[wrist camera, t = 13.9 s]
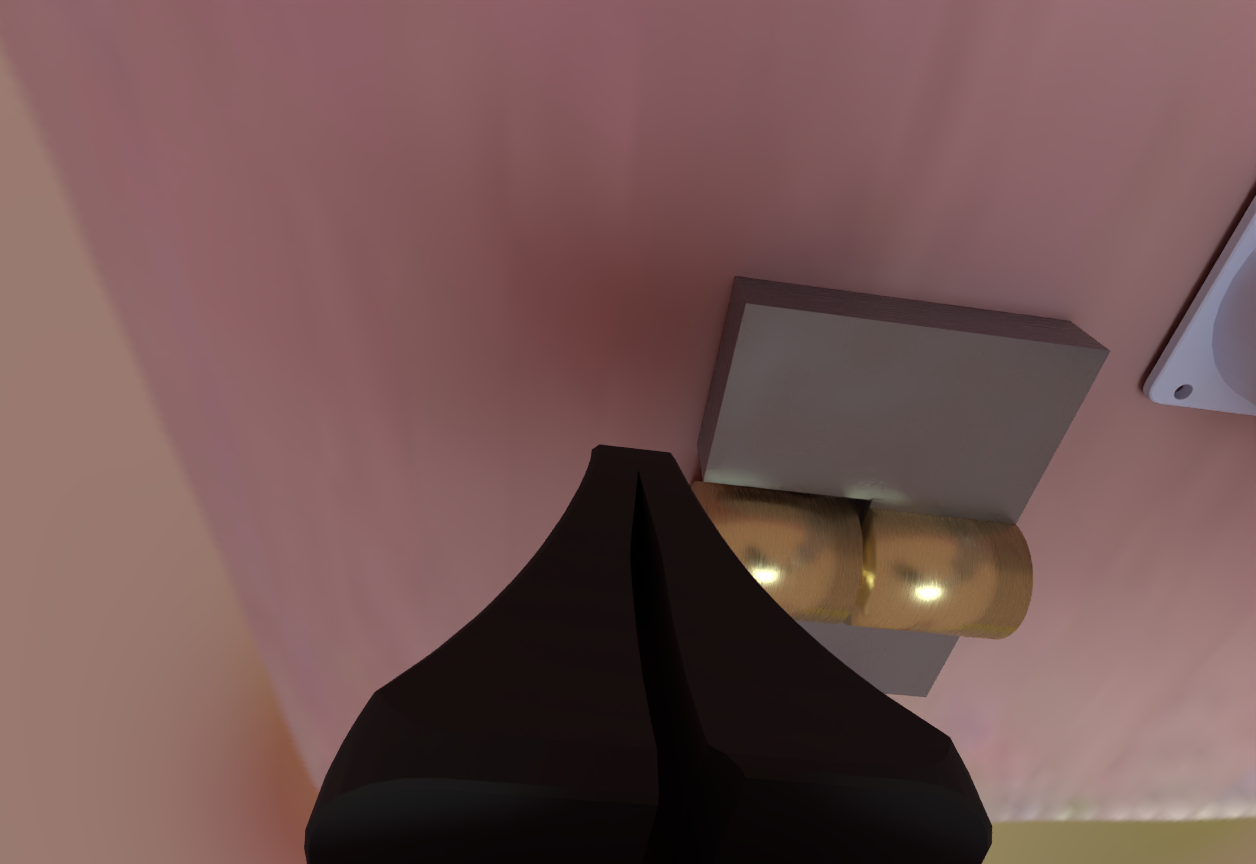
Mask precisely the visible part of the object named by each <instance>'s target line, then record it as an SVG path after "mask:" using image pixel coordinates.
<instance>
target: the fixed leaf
mask: <svg viewBox="0 0 1256 864" xmlns="http://www.w3.org/2000/svg"><path fill="white" fill-rule="evenodd" d="M1109 352H1110V350H1108V349H1107V348H1106V347H1104V346H1103V345H1102V344H1100V343H1099V342H1098V341H1096V340H1095V339H1094V338H1092V337H1091V336H1090V335H1088V334H1087V333H1086V332H1084V331H1083V330H1081V329H1080V328H1079V327H1077V326H1076V325H1075V324H1073V323H1072V322H1071V321H1064V320H1057V319H1049V318H1042V317H1034V316H1027V315H1019V314H1012V313H1004V312H997V311H989V310H982V309H974V308H967V307H959V306H952V305H944V304H937V303H930V302H922V301H915V300H907V299H900V298H892V297H885V296H877V295H870V294H862V293H855V292H847V291H840V290H832V289H825V288H817V287H810V286H802V285H795V284H787V283H780V282H772V281H765V280H757V279H750V278H742V277H735V281H734V285H733V290H732V294H731V299H730V303H729V307H728V312H727V316H726V321H725V325H724V329H723V334H722V338H721V343H720V347H719V351H718V356H717V360H716V365H715V369H714V373H713V378H712V382H711V387H710V391H709V395H708V400H707V404H706V409H705V413H704V417H703V422H702V426H701V431H700V435H699V439H698V444H697V447H698V453H699V459H700V465H701V471H702V478H703V482H711V483H720V484H730V485H739V486H748V487H757V488H766V489H775V490H784V491H793V492H802V493H811V494H820V495H829V496H839V497H845V498H847V499H848V500H849V501H850V502H851V503H852V504H853V506H854V508H855V510H856V512H857V515H858V518H859V521H860V526H861V531H862V539H863V568H862V577H861V583H860V588H859V592H858V596H857V599H856V602H855V604H854V607H853V609H852V611H851V613H850V614H849V616H848V617H847V618H846V619H845V620H844V621H843V623H845V624H846V625H850V626H859V627H870V628H880V629H891V630H901V631H912V632H922V633H933V634H943V635H954V636H964V637H975V638H985V639H1003V638H1005V637H1007V636H1009V635H1011V634H1012V633H1013V632H1014V631H1015V630H1016V629H1017V628H1018V627H1019V626H1020V624H1021V623H1022V621H1023V619H1024V617H1025V615H1026V613H1027V610H1028V607H1029V604H1030V600H1031V595H1032V587H1033V569H1032V561H1031V555H1030V552H1029V548H1028V545H1027V542H1026V540H1025V538H1024V536H1023V534H1022V532H1021V531H1020V529H1019V528H1018V527H1017V525H1016V523H1017V521H1018V519H1019V517H1020V515H1021V513H1022V512H1023V510H1024V508H1025V506H1026V504H1027V502H1028V501H1029V499H1030V497H1031V495H1032V493H1033V491H1034V490H1035V488H1036V486H1037V484H1038V482H1039V481H1040V479H1041V477H1042V475H1043V473H1044V471H1045V470H1046V468H1047V466H1048V464H1049V462H1050V460H1051V459H1052V457H1053V455H1054V453H1055V451H1056V449H1057V448H1058V446H1059V444H1060V442H1061V440H1062V438H1063V437H1064V435H1065V433H1066V431H1067V429H1068V427H1069V426H1070V424H1071V422H1072V420H1073V418H1074V416H1075V415H1076V413H1077V411H1078V409H1079V407H1080V405H1081V404H1082V402H1083V400H1084V398H1085V396H1086V394H1087V393H1088V391H1089V389H1090V387H1091V385H1092V383H1093V382H1094V380H1095V378H1096V376H1097V374H1098V373H1099V371H1100V369H1101V367H1102V365H1103V363H1104V362H1105V360H1106V358H1107V356H1108V354H1109Z"/></svg>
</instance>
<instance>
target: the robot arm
mask: <svg viewBox="0 0 1256 864" xmlns="http://www.w3.org/2000/svg"><path fill="white" fill-rule="evenodd" d="M1182 385H1183V387H1182V388H1181V389H1180V390H1179V391H1177V392H1176V393H1175V391H1176V389H1177V388H1178V387H1180V386H1182ZM1143 393H1144V394H1145V396H1146V397H1147V398H1149V399H1150V400H1151V401H1152V402H1155V403H1158V404H1165V405H1173V406H1181V407H1189V408H1197V409H1205V410H1213V411H1221V412H1229V413H1237V414H1245V415H1253V416H1256V195H1255V197H1254V199H1253V201H1252V202H1251V204H1250V206H1249V207H1248V209H1247V211H1246V212H1245V214H1244V216H1243V218H1242V219H1241V221H1240V223H1239V224H1238V226H1237V228H1236V229H1235V231H1234V233H1233V234H1232V236H1231V238H1230V240H1229V241H1228V243H1227V245H1226V246H1225V248H1224V250H1223V251H1222V253H1221V255H1220V257H1219V258H1218V260H1217V262H1216V263H1215V265H1214V267H1213V268H1212V270H1211V272H1210V273H1209V275H1208V277H1207V279H1206V280H1205V282H1204V284H1203V285H1202V287H1201V289H1200V290H1199V292H1198V294H1197V295H1196V297H1195V299H1194V301H1193V302H1192V304H1191V306H1190V307H1189V309H1188V311H1187V312H1186V314H1185V316H1184V318H1183V319H1182V321H1181V323H1180V324H1179V326H1178V328H1177V329H1176V331H1175V333H1174V334H1173V336H1172V338H1171V340H1170V341H1169V343H1168V345H1167V346H1166V348H1165V350H1164V351H1163V353H1162V355H1161V357H1160V358H1159V360H1158V362H1157V363H1156V365H1155V367H1154V368H1153V370H1152V372H1151V373H1150V375H1149V377H1148V379H1147V380H1146V382H1145V384H1144V387H1143ZM991 844H992V825H991V822H990V820H989V818H988V816H987V813H986V811H985V809H984V807H983V804H982V802H981V800H980V797H979V795H978V792H977V790H976V788H975V785H974V783H973V781H972V779H971V777H970V774H969V772H968V770H967V768H966V766H965V765H964V763H963V761H962V759H961V757H960V755H959V753H958V752H957V750H956V748H955V746H954V744H953V742H952V740H951V738H950V737H949V736H947V735H946V734H944V733H943V732H941V731H940V730H938V729H937V728H935V727H934V726H932V725H931V724H929V723H928V722H926V721H925V720H923V719H921V718H920V717H918V716H917V715H915V714H914V713H912V712H911V711H909V710H908V709H906V708H905V707H903V706H902V705H900V704H899V703H897V702H896V701H894V700H893V699H891V698H890V697H888V696H887V695H885V694H884V693H882V692H881V691H880V690H878V689H877V688H876V687H874V686H873V685H872V684H870V683H869V682H868V681H866V680H865V679H864V678H862V677H861V676H860V675H858V674H857V673H856V672H855V671H853V670H852V669H851V668H849V667H848V666H847V665H845V664H844V663H843V662H842V661H841V660H839V659H838V658H837V657H836V656H834V655H833V654H832V653H831V652H830V651H828V650H827V649H826V648H825V647H824V646H822V645H821V644H820V643H819V642H818V641H817V640H816V639H815V638H814V637H812V636H811V635H810V634H809V633H808V632H807V631H806V630H805V629H804V628H802V627H801V626H800V625H799V624H798V623H797V622H796V621H795V620H794V619H793V618H792V617H791V616H790V615H789V614H788V613H787V612H786V611H785V610H784V609H782V607H781V606H780V605H779V604H778V603H777V602H776V601H775V600H774V599H773V598H772V597H771V596H770V595H769V594H768V593H767V592H766V590H765V589H764V588H763V587H762V586H761V585H760V584H759V583H758V582H757V581H756V580H755V578H754V577H753V576H752V575H751V574H750V572H749V571H748V570H747V569H746V568H745V566H744V565H743V564H742V562H741V561H740V560H739V558H738V557H737V556H736V555H735V553H734V552H733V551H732V549H731V548H730V547H729V545H728V544H727V542H726V541H725V540H724V538H723V537H722V536H721V534H720V533H719V531H718V530H717V528H716V527H715V525H714V524H713V522H712V521H711V519H710V518H709V516H708V515H707V513H706V512H705V510H704V509H703V507H702V505H701V504H700V502H699V501H698V499H697V497H696V496H695V494H694V492H693V490H692V489H691V487H690V485H689V484H688V482H687V480H686V478H685V477H684V475H683V473H682V471H681V469H680V467H679V465H678V464H677V462H676V460H675V458H674V457H673V456H672V454H671V453H669V452H660V451H651V450H643V449H634V448H625V447H616V446H607V445H598V446H597V447H595V448H594V449H592V453H591V459H590V462H589V466H588V468H587V471H586V473H585V476H584V478H583V480H582V482H581V484H580V486H579V488H578V490H577V492H576V494H575V495H574V497H573V499H572V501H571V502H570V504H569V506H568V508H567V509H566V511H565V513H564V514H563V516H562V517H561V519H560V520H559V522H558V523H557V525H556V526H555V528H554V529H553V530H552V532H551V533H550V535H549V536H548V538H547V539H546V541H545V542H544V543H543V545H542V546H541V547H540V549H539V550H538V551H537V552H536V554H535V555H534V556H533V557H532V559H531V560H530V561H529V562H528V564H527V565H526V566H525V567H524V568H523V569H522V570H521V572H520V573H519V574H518V575H517V576H516V577H515V578H514V580H513V581H512V582H511V583H510V584H509V585H508V586H507V587H506V588H505V589H504V590H503V591H502V592H501V593H500V594H499V595H498V596H497V597H496V598H495V599H494V600H493V601H492V602H491V603H490V604H489V605H488V606H487V607H486V608H485V609H484V610H483V611H482V612H481V613H479V614H478V615H477V616H476V617H475V618H474V619H473V620H471V621H470V622H469V623H468V624H467V625H465V626H464V627H463V628H462V629H461V630H459V631H458V632H457V633H456V634H455V635H453V636H452V637H451V638H450V639H449V640H447V641H446V642H445V643H444V644H443V645H441V646H440V647H439V648H438V649H436V650H435V651H434V652H432V653H431V654H430V655H428V656H427V657H426V658H424V659H423V660H421V661H420V662H418V663H417V664H415V665H414V666H412V667H411V668H410V669H408V670H407V671H405V672H404V673H402V674H401V675H399V676H398V677H396V678H395V679H393V680H392V681H391V682H389V683H388V684H386V685H385V686H383V687H382V688H380V689H379V690H377V691H376V692H374V694H373V695H372V697H371V698H370V700H369V701H368V703H367V704H366V706H365V707H364V709H363V710H362V712H361V713H360V715H359V716H358V718H357V720H356V721H355V723H354V724H353V726H352V728H351V729H350V731H349V733H348V734H347V736H346V738H345V739H344V741H343V743H342V745H341V747H340V749H339V751H338V753H337V755H336V757H335V758H334V760H333V762H332V764H331V766H330V768H329V770H328V772H327V774H326V777H325V779H324V782H323V784H322V787H321V790H320V792H319V795H318V798H317V800H316V803H315V806H314V808H313V811H312V814H311V816H310V819H309V822H308V824H307V827H306V830H305V845H304V850H305V855H306V861H307V864H982V862H983V860H984V858H985V856H986V854H987V852H988V850H989V848H990V846H991Z"/></svg>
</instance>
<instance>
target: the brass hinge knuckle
mask: <svg viewBox="0 0 1256 864" xmlns="http://www.w3.org/2000/svg"><path fill="white" fill-rule="evenodd" d="M691 489H692V490H693V492H694V494H695V496H696V497H697V499H698V501H699V502H700V504H701V505H702V507H703V509H704V510H705V512H706V513H707V515H708V516H709V518H710V519H711V521H712V522H713V524H714V525H715V527H716V528H717V530H718V531H719V533H720V534H721V536H722V537H723V538H724V540H725V541H726V542H727V544H728V545H729V547H730V548H731V549H732V551H733V552H734V553H735V555H736V556H737V557H738V558H739V560H740V561H741V562H742V564H743V565H744V566H745V568H746V569H747V570H748V571H749V572H750V574H751V575H752V576H753V577H754V578H755V580H756V581H757V582H758V583H759V584H760V585H761V586H762V587H763V588H764V589H765V590H766V592H767V593H768V594H769V595H770V596H771V597H772V598H773V599H774V600H775V601H776V602H777V603H778V604H779V605H780V606H781V607H782V609H784V610H785V611H786V612H787V613H788V614H789V615H790V616H791V617H792V618H793V619H794V620H795V621H796V622H797V623H798V624H799V625H800V626H801V627H802V628H804V629H805V630H806V631H807V632H808V633H809V634H810V635H811V636H812V637H814V638H815V639H816V640H817V641H818V642H819V643H820V644H821V645H822V646H824V647H825V648H826V649H827V650H828V651H830V652H831V653H832V654H833V655H834V656H836V657H837V658H838V659H839V660H841V661H842V662H843V663H844V664H845V665H847V666H848V667H849V668H851V669H852V670H853V671H855V672H856V673H857V674H858V675H860V676H861V677H862V678H864V679H865V680H866V681H868V682H869V683H870V684H872V685H873V686H874V687H876V688H877V689H878V690H880V691H881V692H882V693H885V694H897V695H908V696H919V697H926V696H927V694H928V693H929V691H930V689H931V687H932V685H933V684H934V682H935V680H936V678H937V676H938V675H939V673H940V671H941V669H942V667H943V666H944V664H945V662H946V660H947V658H948V656H949V655H950V653H951V651H952V649H953V647H954V646H955V644H956V642H957V640H958V638H959V637H960V636H954V635H943V634H933V633H922V632H912V631H901V630H891V629H880V628H870V627H859V626H850V625H846V624H845V623H843V621H844V620H845V619H846V618H847V617H848V616H849V614H850V613H851V611H852V609H853V607H854V604H855V602H856V599H857V596H858V592H859V588H860V583H861V577H862V568H863V539H862V531H861V526H860V521H859V518H858V515H857V512H856V510H855V508H854V506H853V504H852V503H851V502H850V501H849V500H848V499H847V498H845V497H838V496H829V495H820V494H811V493H802V492H793V491H783V490H774V489H765V488H756V487H747V486H738V485H729V484H720V483H711V482H702V481H695V482H694V483H693V484H692V486H691Z"/></svg>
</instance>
